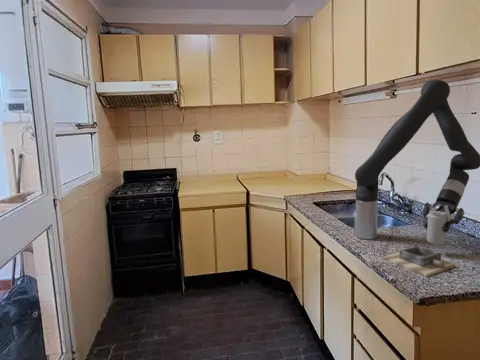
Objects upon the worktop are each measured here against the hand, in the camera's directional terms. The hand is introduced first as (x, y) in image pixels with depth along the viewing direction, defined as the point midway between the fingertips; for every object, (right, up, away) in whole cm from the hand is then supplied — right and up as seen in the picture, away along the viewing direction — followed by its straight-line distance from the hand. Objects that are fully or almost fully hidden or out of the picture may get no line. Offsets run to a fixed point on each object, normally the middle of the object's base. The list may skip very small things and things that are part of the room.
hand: (434, 228), depth 133 cm
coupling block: (-9, -12, -5) cm, 16 cm away
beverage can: (+2, -6, +2) cm, 6 cm away
